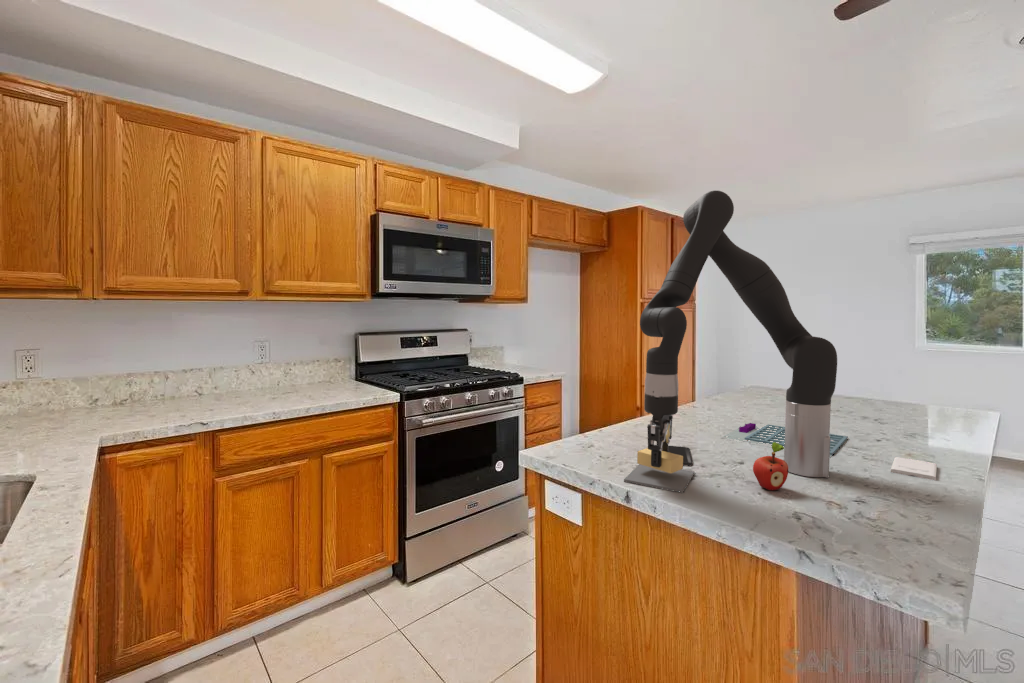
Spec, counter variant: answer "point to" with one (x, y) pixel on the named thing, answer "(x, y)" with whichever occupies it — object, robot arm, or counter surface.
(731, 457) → the counter surface
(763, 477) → the apple
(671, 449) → the phone
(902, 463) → the external hard drive
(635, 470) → the mat
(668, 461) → the card box
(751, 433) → the calendar
